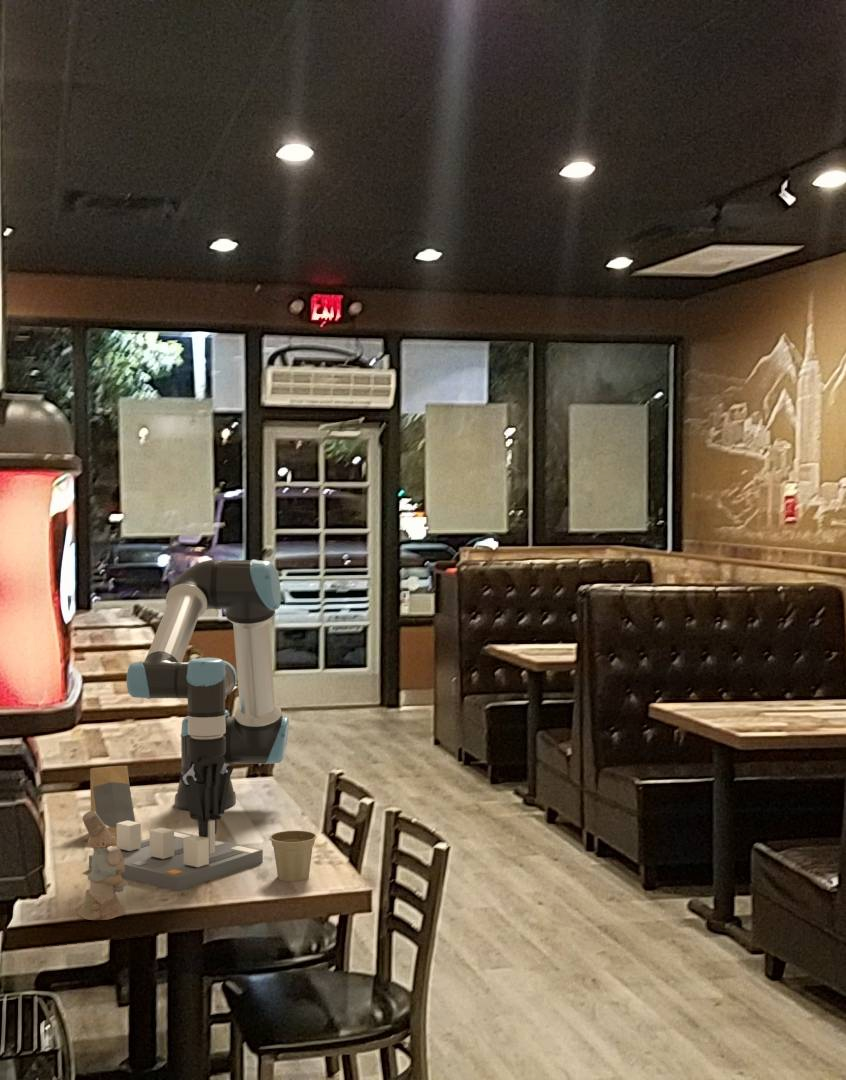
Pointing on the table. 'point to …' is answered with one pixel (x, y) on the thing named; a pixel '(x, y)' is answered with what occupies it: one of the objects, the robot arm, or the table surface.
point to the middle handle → (161, 843)
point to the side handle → (129, 835)
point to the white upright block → (196, 851)
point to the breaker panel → (177, 873)
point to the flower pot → (293, 854)
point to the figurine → (103, 873)
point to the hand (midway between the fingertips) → (207, 851)
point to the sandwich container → (111, 796)
